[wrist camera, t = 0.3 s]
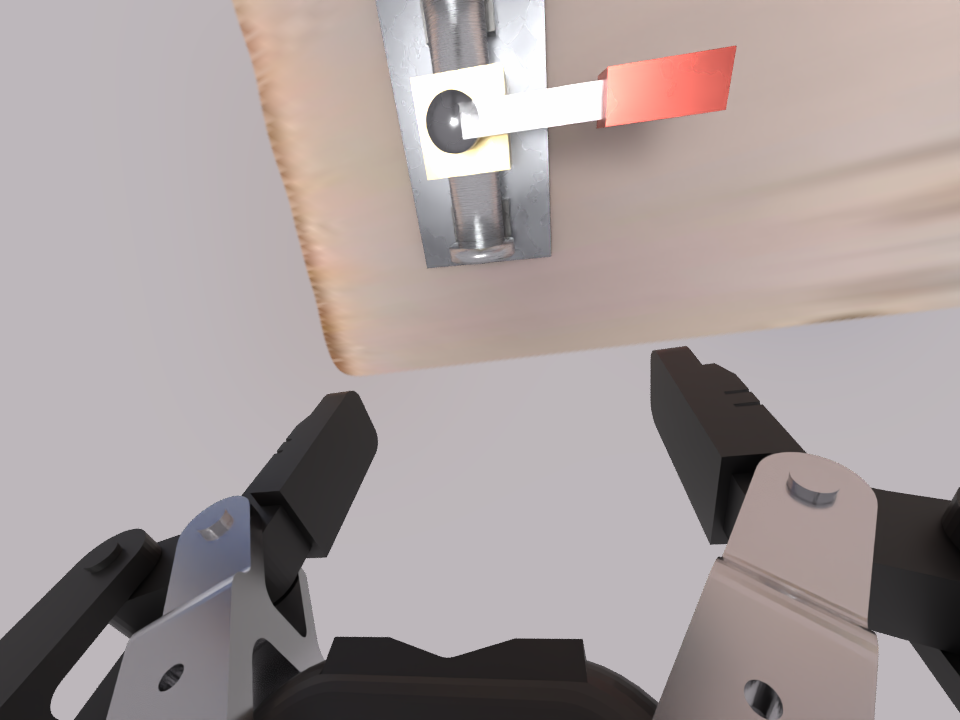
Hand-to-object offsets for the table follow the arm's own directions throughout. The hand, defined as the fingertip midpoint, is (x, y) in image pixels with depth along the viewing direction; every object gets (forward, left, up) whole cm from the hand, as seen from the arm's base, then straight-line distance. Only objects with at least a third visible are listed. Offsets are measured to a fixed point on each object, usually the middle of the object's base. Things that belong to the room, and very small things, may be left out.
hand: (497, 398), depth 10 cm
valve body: (-7, -3, -28) cm, 29 cm away
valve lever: (-7, +3, -19) cm, 21 cm away
